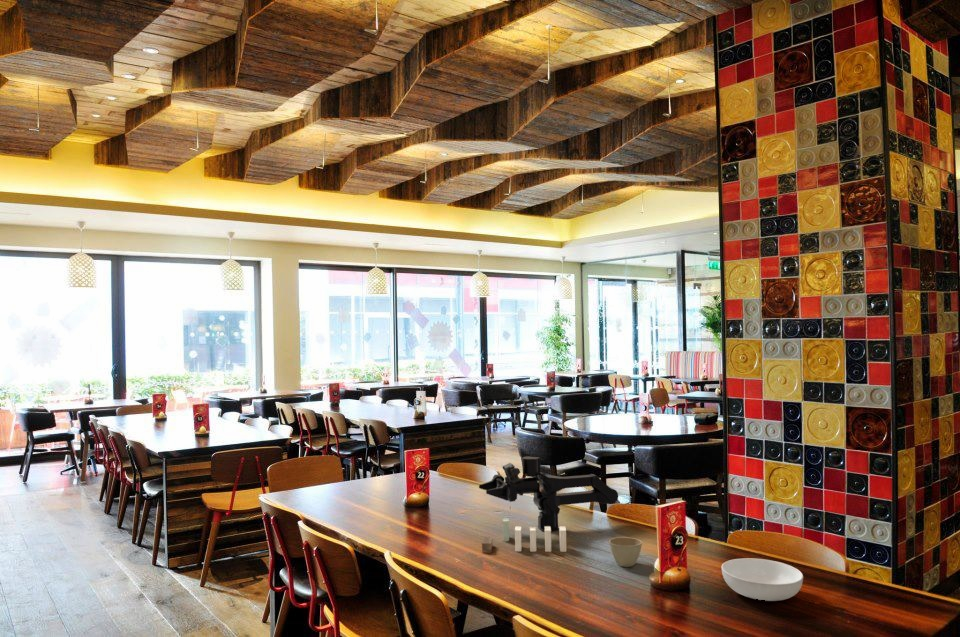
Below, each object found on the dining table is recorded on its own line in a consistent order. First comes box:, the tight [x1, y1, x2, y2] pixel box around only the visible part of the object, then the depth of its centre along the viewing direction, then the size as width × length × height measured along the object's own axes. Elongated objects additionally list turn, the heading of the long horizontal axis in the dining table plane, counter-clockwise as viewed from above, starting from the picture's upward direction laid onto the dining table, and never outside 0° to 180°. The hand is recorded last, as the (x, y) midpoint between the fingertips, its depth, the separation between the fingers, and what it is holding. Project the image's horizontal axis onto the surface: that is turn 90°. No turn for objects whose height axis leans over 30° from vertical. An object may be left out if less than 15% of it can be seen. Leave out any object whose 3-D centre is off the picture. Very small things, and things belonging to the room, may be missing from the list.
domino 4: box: [558, 525, 567, 553], centre depth 238 cm, size 2×5×7 cm, turn 176°
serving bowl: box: [720, 557, 804, 602], centre depth 194 cm, size 21×21×7 cm
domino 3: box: [544, 526, 552, 553], centre depth 238 cm, size 2×5×7 cm, turn 176°
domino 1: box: [514, 525, 522, 552], centre depth 239 cm, size 2×5×7 cm, turn 176°
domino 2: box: [529, 525, 537, 552], centre depth 238 cm, size 2×5×7 cm, turn 176°
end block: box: [481, 536, 493, 553], centre depth 239 cm, size 3×8×3 cm, turn 176°
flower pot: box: [608, 536, 643, 568], centre depth 221 cm, size 10×10×7 cm
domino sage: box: [502, 517, 510, 542], centre depth 250 cm, size 2×5×7 cm, turn 176°
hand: (482, 489), depth 256 cm, fingers open, 9 cm apart
